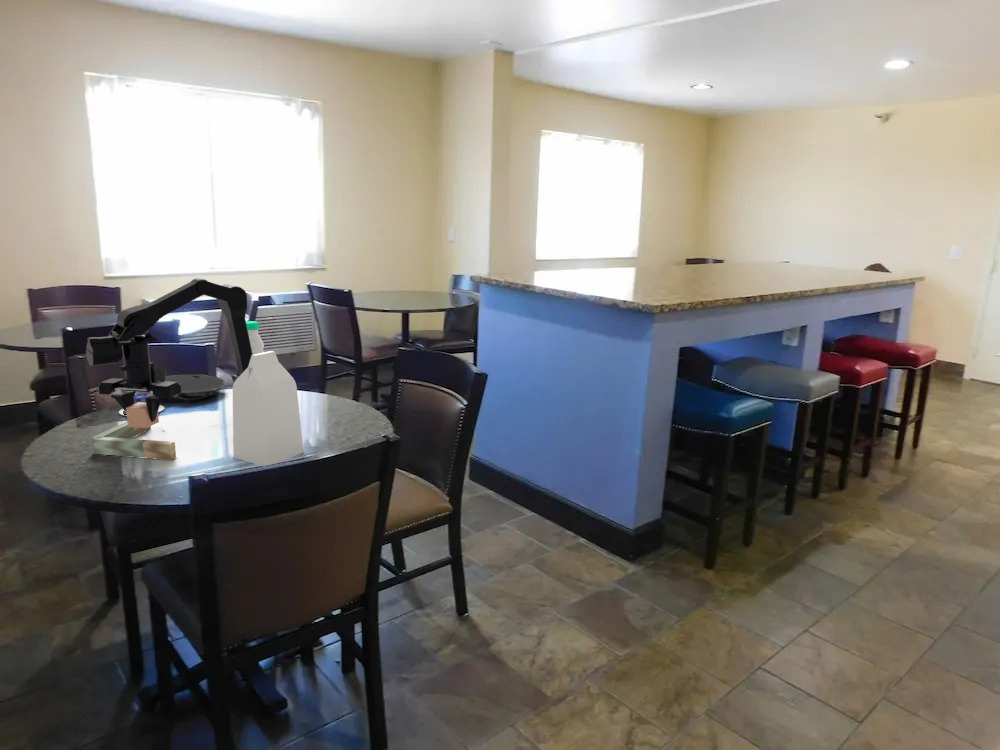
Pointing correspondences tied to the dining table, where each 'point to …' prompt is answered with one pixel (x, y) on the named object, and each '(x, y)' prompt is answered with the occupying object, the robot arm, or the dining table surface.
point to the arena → (131, 444)
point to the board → (194, 386)
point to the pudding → (141, 398)
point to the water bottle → (254, 337)
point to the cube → (139, 416)
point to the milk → (266, 412)
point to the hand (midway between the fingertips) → (143, 420)
